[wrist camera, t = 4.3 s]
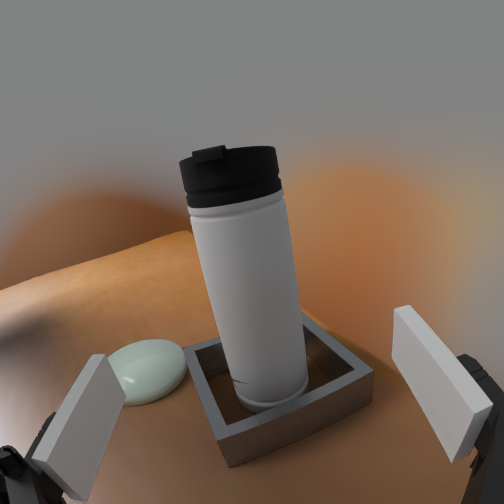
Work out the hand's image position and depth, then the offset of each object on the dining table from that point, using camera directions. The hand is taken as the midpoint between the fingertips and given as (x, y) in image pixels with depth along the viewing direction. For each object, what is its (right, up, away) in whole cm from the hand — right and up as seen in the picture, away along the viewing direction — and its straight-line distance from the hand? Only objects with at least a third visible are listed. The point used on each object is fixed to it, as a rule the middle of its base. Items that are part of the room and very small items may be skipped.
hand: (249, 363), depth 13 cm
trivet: (-11, -8, +17) cm, 22 cm away
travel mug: (+2, -7, +13) cm, 15 cm away
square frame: (+2, -7, +12) cm, 15 cm away
